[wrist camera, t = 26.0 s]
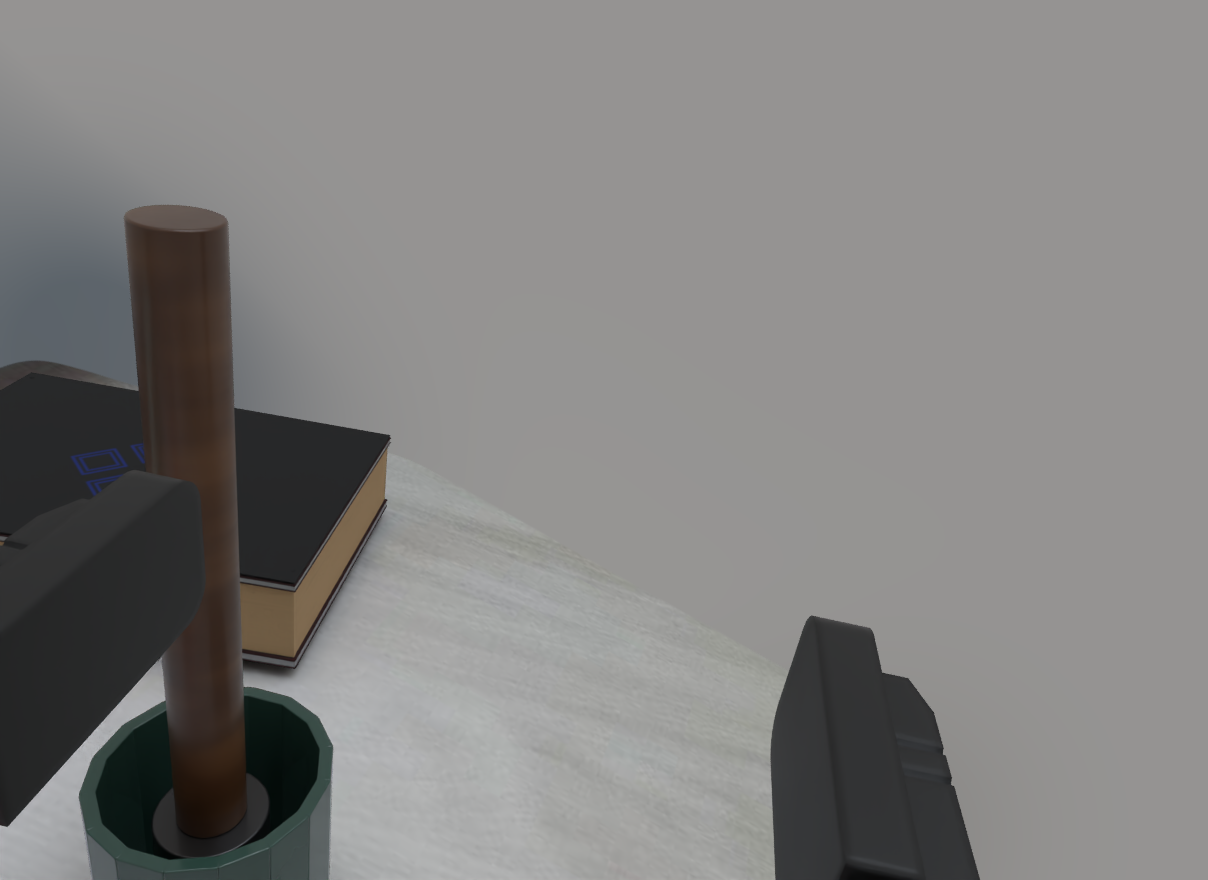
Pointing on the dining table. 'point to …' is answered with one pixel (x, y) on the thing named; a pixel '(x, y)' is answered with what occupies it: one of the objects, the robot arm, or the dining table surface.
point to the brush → (208, 459)
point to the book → (264, 494)
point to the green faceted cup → (273, 755)
